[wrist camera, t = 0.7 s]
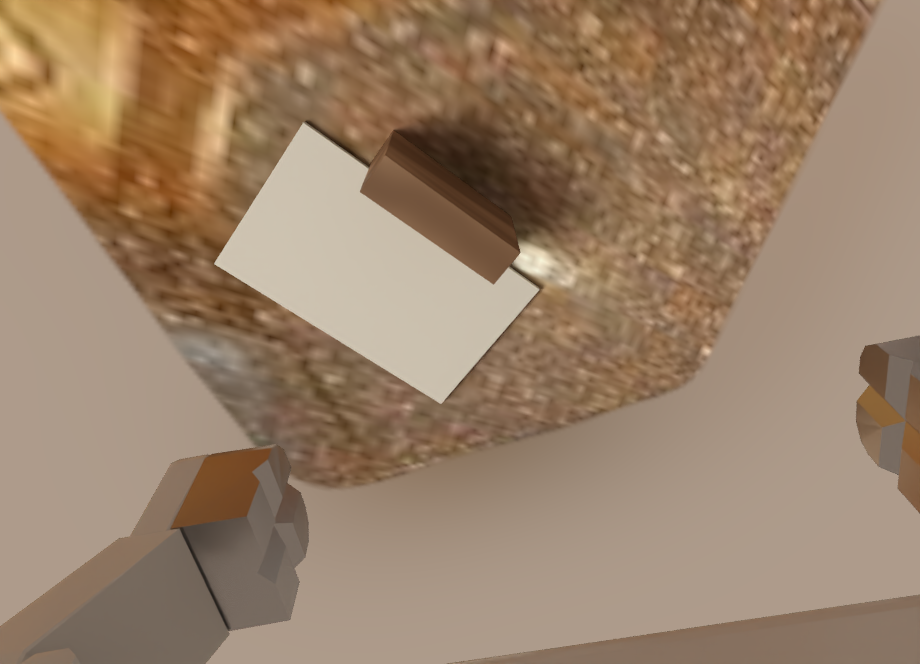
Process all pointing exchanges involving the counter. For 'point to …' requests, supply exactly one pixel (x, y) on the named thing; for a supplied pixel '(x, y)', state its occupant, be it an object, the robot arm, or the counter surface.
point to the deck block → (441, 208)
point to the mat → (367, 271)
